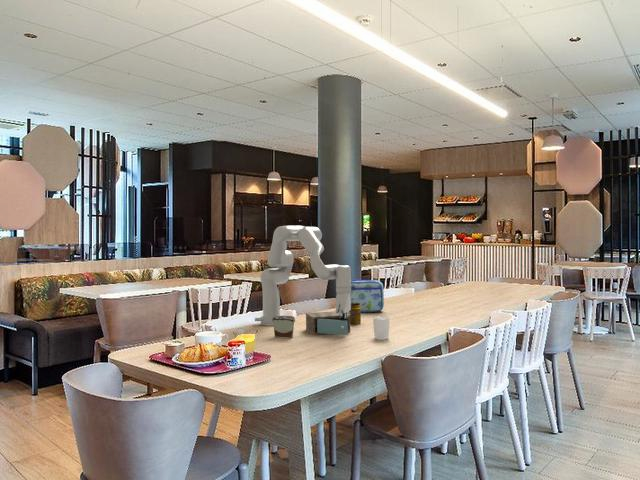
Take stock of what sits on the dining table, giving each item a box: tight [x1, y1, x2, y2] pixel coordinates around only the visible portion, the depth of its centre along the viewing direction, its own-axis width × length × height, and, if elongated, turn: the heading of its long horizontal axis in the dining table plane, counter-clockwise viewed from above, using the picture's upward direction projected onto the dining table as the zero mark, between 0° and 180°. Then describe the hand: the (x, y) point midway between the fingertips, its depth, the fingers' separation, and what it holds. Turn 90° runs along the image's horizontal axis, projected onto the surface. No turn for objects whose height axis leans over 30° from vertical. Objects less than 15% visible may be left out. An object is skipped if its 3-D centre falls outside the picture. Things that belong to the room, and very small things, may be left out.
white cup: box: [372, 316, 390, 341], centre depth 254 cm, size 8×8×10 cm
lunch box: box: [349, 278, 385, 313], centre depth 337 cm, size 26×11×21 cm, turn 77°
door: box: [317, 319, 349, 336], centre depth 261 cm, size 16×2×7 cm, turn 67°
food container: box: [272, 315, 296, 339], centre depth 262 cm, size 12×6×10 cm, turn 71°
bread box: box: [305, 310, 351, 336], centre depth 274 cm, size 20×14×9 cm
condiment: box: [349, 302, 363, 327], centre depth 293 cm, size 7×8×12 cm
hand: (344, 326), depth 262 cm, fingers closed
